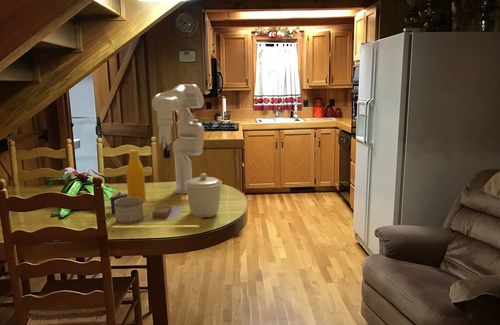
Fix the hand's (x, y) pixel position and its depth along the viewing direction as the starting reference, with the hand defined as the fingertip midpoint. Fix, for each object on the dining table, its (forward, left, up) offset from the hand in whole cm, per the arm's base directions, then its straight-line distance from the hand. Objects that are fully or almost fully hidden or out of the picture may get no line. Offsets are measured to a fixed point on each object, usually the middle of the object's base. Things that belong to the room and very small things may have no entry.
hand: (167, 157), depth 208 cm
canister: (+14, +20, -26) cm, 36 cm away
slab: (+12, 0, -24) cm, 26 cm away
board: (+12, +1, -26) cm, 29 cm away
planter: (+23, -14, -27) cm, 38 cm away
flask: (+9, -23, -27) cm, 36 cm away
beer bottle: (-7, -19, -26) cm, 33 cm away
